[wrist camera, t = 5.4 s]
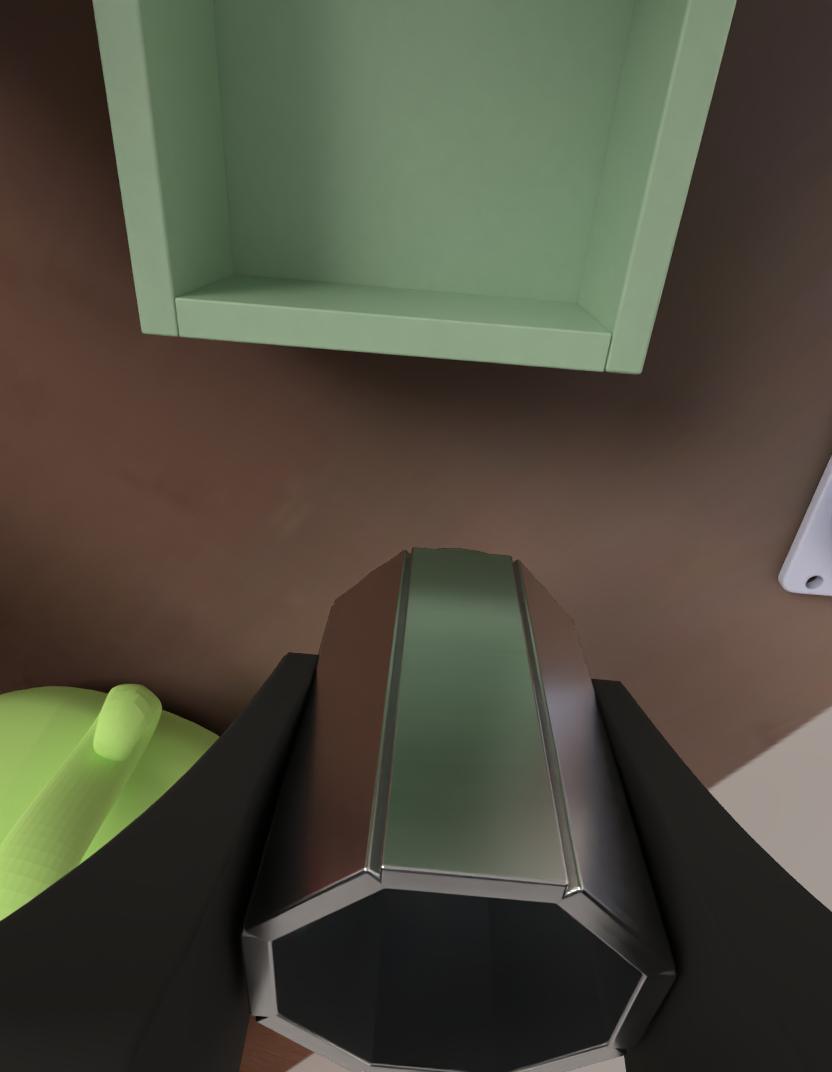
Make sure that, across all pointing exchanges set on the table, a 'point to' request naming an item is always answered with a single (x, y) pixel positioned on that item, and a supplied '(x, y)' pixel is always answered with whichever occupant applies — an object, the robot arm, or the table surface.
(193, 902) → the robot arm
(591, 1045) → the steel cup
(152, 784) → the teapot
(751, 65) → the table surface
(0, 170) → the table surface
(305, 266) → the green open box
